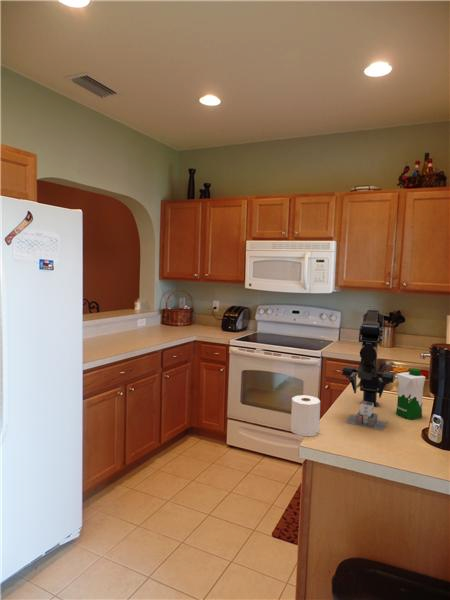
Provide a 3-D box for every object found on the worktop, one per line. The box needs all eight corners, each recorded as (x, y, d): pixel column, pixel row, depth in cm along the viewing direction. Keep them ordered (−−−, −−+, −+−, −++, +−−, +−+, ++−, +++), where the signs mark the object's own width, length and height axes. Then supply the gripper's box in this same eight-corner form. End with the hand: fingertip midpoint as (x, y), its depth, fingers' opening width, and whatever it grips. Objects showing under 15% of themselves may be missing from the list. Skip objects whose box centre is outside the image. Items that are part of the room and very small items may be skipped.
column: (362, 419, 159) (363, 400, 158) (372, 421, 157) (373, 402, 156) (359, 423, 155) (360, 404, 154) (370, 425, 153) (371, 406, 152)
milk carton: (425, 420, 161) (428, 371, 160) (409, 423, 158) (411, 373, 156) (407, 412, 170) (410, 366, 168) (391, 415, 166) (394, 368, 164)
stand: (351, 416, 164) (351, 407, 164) (387, 424, 157) (388, 414, 156) (344, 424, 155) (345, 414, 155) (382, 433, 148) (383, 422, 148)
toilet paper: (323, 435, 145) (325, 403, 144) (297, 437, 143) (298, 404, 142) (312, 424, 155) (313, 394, 154) (286, 426, 153) (287, 395, 152)
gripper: (338, 356, 152) (337, 396, 153) (391, 363, 142) (389, 406, 143) (346, 351, 161) (345, 389, 163) (396, 357, 151) (394, 397, 153)
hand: (367, 395), depth 155 cm, fingers open, 9 cm apart
